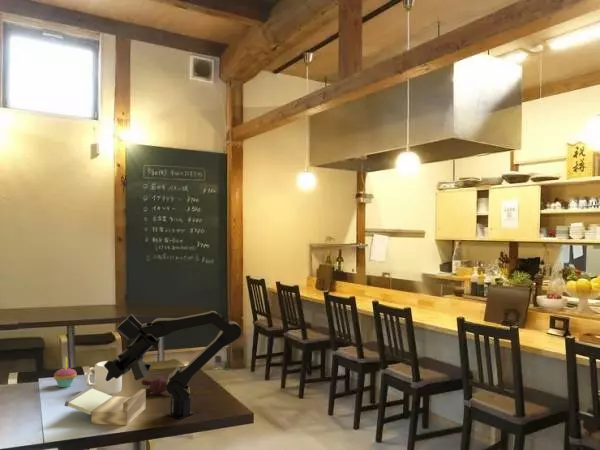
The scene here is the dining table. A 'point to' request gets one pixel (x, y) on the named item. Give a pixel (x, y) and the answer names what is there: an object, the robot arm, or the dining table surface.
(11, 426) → the dining table surface
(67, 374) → the cupcake
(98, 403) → the panel
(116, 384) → the mug
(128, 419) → the cream and gold block
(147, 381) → the icecream
